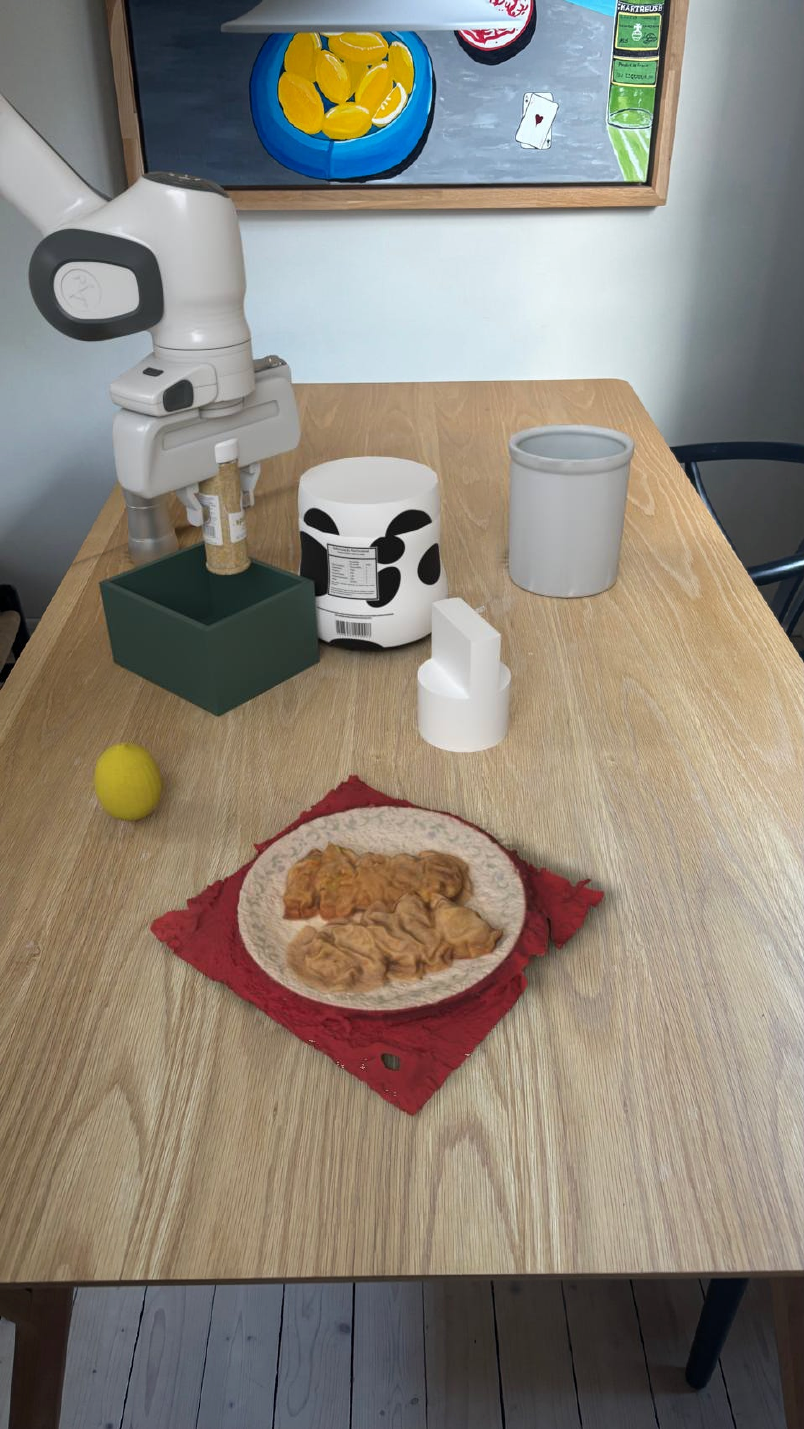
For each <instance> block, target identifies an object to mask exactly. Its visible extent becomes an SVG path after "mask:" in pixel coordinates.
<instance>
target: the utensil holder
mask: <svg viewBox="0 0 804 1429" xmlns="http://www.w3.org/2000/svg"><path fill="white" fill-rule="evenodd" d="M635 446H636V445H635V440H634V439H633V438H632V437H631V436H630V435H628V434H626V433H625V432H623V431H620V430H617V429H614V428H610V427H604V426H599V425H591V424H578V423H575V424H570V423H566V424H565V423H563V424H561V423H560V424H547V425H539V426H533V427H529V428H526V429H522V430H520V431H517V432H515V433H514V434H512V435H511V436H510V437H509V439H508V454H509V456H510V464H509V465H510V467H509V468H510V470H509V503H508V504H509V505H508V506H509V509H508V573H509V574H508V575H509V577H510V579H511V581H512V582H513V583H514V584H515V585H516V586H518V587H519V588H521V589H522V590H525V591H528V592H530V593H532V594H535V595H541V596H545V597H552V598H563V599H565V598H566V599H570V598H572V599H573V598H582V597H589V596H594V595H597V594H601V593H603V592H605V591H607V590H609V589H611V588H612V587H613V586H614V585H615V583H616V582H617V578H618V571H619V564H620V559H621V558H620V557H621V550H622V543H623V533H624V525H625V515H626V506H627V498H628V492H629V482H630V472H631V462H632V459H633V457H634V455H635Z"/></svg>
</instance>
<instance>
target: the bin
mask: <svg viewBox="0 0 804 1429" xmlns="http://www.w3.org/2000/svg"><path fill="white" fill-rule="evenodd" d="M249 558H250V562H251V564H250V566H249V568H248V569H246V570H244V571H243V572H240V573H238V574H233V575H218V574H215V573H212V572H210V571H209V570H208V569H207V567H206V562H207V557H206V549H205V541H204V540H201V541H199V542H196V543H194V544H191V545H188V546H186V547H184V548H181V549H179V551H176V552H173V553H171V554H168V555H166V556H163V557H161V558H158V559H156V560H153V561H151V562H148V563H146V564H143V565H141V566H138V567H137V566H135V567H133V568H131V569H128V570H126V571H122V572H121V573H118V574H116V575H113V576H109V577H108V578H106V579H103V580H100V581H98V586H99V591H100V597H101V602H102V606H103V612H104V617H105V622H106V628H107V633H108V639H109V643H110V650H111V654H112V660H113V663H114V664H116V665H117V666H120V667H122V668H123V669H126V670H127V671H129V672H131V673H133V674H135V675H137V676H139V677H141V678H143V679H145V680H147V681H148V682H150V683H153V684H154V685H156V686H158V687H161V688H162V689H164V690H166V691H168V692H170V693H172V694H174V695H176V696H178V697H179V698H181V699H183V700H185V701H187V702H189V703H191V704H193V705H194V706H197V707H198V708H201V709H202V710H205V711H206V712H208V713H209V714H212V715H214V716H215V717H218V718H219V717H221V716H222V715H225V714H226V713H228V712H230V711H232V710H233V709H236V708H237V707H239V706H241V705H243V704H245V703H247V702H248V701H250V700H252V699H254V698H256V697H258V696H259V695H261V694H263V693H265V692H267V691H269V690H271V689H273V688H274V687H276V686H278V685H280V684H281V683H283V682H285V681H287V680H289V679H291V678H293V677H295V676H296V675H298V674H300V673H302V672H304V671H305V670H307V669H309V668H311V667H313V666H315V665H317V664H318V663H320V652H319V639H318V634H317V618H316V603H315V588H314V581H312V580H310V579H307V578H305V577H302V576H299V575H298V573H297V574H296V573H294V572H291V571H289V570H286V569H283V568H281V567H278V566H275V565H272V564H269V563H268V562H265V561H263V560H260V559H257V558H254V557H251V556H249Z"/></svg>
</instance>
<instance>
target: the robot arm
mask: <svg viewBox="0 0 804 1429" xmlns="http://www.w3.org/2000/svg"><path fill="white" fill-rule="evenodd" d="M0 196H2V198H4V200H6V201H7V202H8V204H10V205H11V206H12V207H13V208H14V209H15V210H16V211H17V212H18V213H19V214H20V216H22V217H23V218H24V219H25V220H26V221H27V222H28V223H29V224H30V225H31V226H33V228H34V229H36V230H37V232H39V234H40V235H41V236H42V237H43V239H42V240H41V241H40V242H39V243H38V244H37V245H36V247H35V249H34V250H33V252H32V255H31V257H30V260H29V264H28V273H27V274H28V285H29V290H30V294H31V297H32V299H33V302H34V304H35V307H36V308H37V310H38V311H39V313H40V314H41V316H42V317H43V318H44V319H45V321H46V322H47V323H48V324H49V325H51V327H53V328H54V330H56V331H58V332H59V333H61V334H62V335H64V336H67V337H68V338H69V339H70V338H71V339H72V340H77V341H80V342H87V343H88V342H89V343H92V342H93V343H94V342H95V343H96V342H105V341H110V340H114V339H117V338H122V337H123V338H124V337H126V336H131V335H135V334H138V333H141V332H148V333H150V336H151V342H152V349H153V351H152V352H150V353H149V354H148V355H146V356H145V357H144V358H143V359H141V360H140V361H139V362H138V363H137V364H135V365H134V366H133V367H131V368H130V369H128V370H127V371H125V372H124V373H122V374H120V375H119V376H118V377H116V378H115V379H113V380H112V381H111V383H110V385H109V395H110V399H111V402H112V403H113V404H114V405H116V406H118V407H121V408H120V409H119V410H118V411H117V412H116V414H115V416H114V418H113V423H112V447H113V458H114V457H115V462H114V466H115V465H116V467H115V470H116V471H115V472H116V477H117V480H118V483H119V485H120V486H121V488H122V487H123V488H124V489H125V490H126V491H128V492H129V493H131V494H133V495H136V496H139V497H142V498H145V499H151V498H154V497H157V496H160V495H163V494H166V493H167V494H168V493H171V492H173V493H174V495H175V496H176V497H177V499H178V500H179V501H180V502H181V503H182V505H183V506H184V507H185V509H186V518H187V522H188V523H189V524H190V525H192V526H194V527H197V528H198V527H202V525H204V524H206V523H209V522H210V521H211V517H210V516H209V514H210V507H209V506H207V505H203V504H202V503H199V501H198V497H196V494H198V492H199V488H198V482H201V481H203V480H206V479H209V478H212V477H215V476H217V475H218V474H219V468H218V466H219V465H220V464H218V463H216V457H215V445H217V444H218V443H221V442H224V441H227V440H231V439H237V440H238V444H239V454H240V455H239V457H238V458H236V459H238V462H237V463H238V467H239V471H240V479H241V489H242V494H243V504H244V510H246V509H248V508H251V507H253V506H255V497H254V496H255V494H254V490H255V489H256V486H257V484H258V480H259V477H260V474H261V472H262V469H261V467H262V466H261V461H264V460H268V459H270V458H273V457H277V456H278V455H281V454H285V453H287V452H291V451H293V450H296V449H297V448H298V445H299V443H300V441H301V438H302V429H301V428H302V427H301V419H300V413H299V408H298V407H299V406H298V402H297V398H296V395H295V390H294V387H293V385H292V384H293V382H292V370H291V367H290V365H289V364H288V362H286V360H284V359H283V358H280V357H279V355H277V354H269V355H266V356H264V357H263V358H254V352H253V350H254V349H253V342H252V332H251V328H250V325H249V322H248V319H247V316H246V311H245V300H246V294H247V285H248V282H247V271H246V270H247V269H246V260H245V254H244V246H243V240H242V234H241V228H240V222H239V218H238V214H237V210H236V207H235V204H234V201H233V200H232V198H231V196H230V194H228V192H226V190H225V189H224V188H223V187H222V186H220V184H218V183H216V182H215V181H213V180H211V179H208V178H204V177H202V176H197V175H194V174H188V173H183V172H176V171H169V172H168V171H163V170H160V171H148V172H147V173H146V172H145V173H143V174H142V175H140V177H139V178H138V179H137V180H136V181H135V183H133V184H132V185H131V186H130V187H129V188H127V189H126V190H125V191H124V192H122V193H121V194H119V195H117V196H116V197H115V198H112V197H110V196H108V195H106V194H105V193H103V192H101V191H99V190H98V189H97V188H96V187H94V186H93V185H91V184H90V183H89V182H88V181H87V180H86V179H84V177H83V176H81V175H80V173H78V171H76V170H75V168H74V167H72V165H71V164H70V163H69V162H68V161H67V160H66V159H65V158H64V157H63V156H62V155H61V154H60V153H59V152H58V151H57V150H56V148H54V146H53V145H51V143H50V142H49V141H48V140H47V139H46V138H45V137H44V136H43V135H42V134H41V133H40V132H39V131H38V130H37V128H36V127H34V126H33V125H32V123H30V122H29V120H28V119H26V118H25V117H24V115H23V114H22V113H20V111H19V110H18V109H17V108H16V107H15V106H14V105H13V104H12V103H11V102H10V101H9V100H8V99H7V98H6V96H4V95H3V94H2V93H1V92H0Z"/></svg>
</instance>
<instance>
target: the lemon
mask: <svg viewBox="0 0 804 1429" xmlns="http://www.w3.org/2000/svg"><path fill="white" fill-rule="evenodd" d="M93 785H94V790H95V794H96V798H97V801H98V802H99V804H100V806H101V808H103V810H104V811H105V813H107V814H108V815H109V816H111V817H113V818H115V819H117V820H120V821H125V822H137V821H139V820H141V819H144V818H145V817H147V816H148V815H150V814H151V813H152V812H153V811H154V810H155V809H156V807H157V806H158V804H159V802H160V800H161V795H162V792H163V791H162V790H163V782H162V775H161V771H160V768H159V765H158V763H157V762H156V760H155V758H154V757H153V755H152V754H151V752H149V751H148V749H146V748H144V747H143V746H142V745H140V744H137V743H133V742H118V743H116V744H115V745H112V746H110V747H108V748H107V749H106V750H105V751H104V752H102V754H101V755H100V756H99V758H98V760H97V762H96V764H95V768H94V775H93Z"/></svg>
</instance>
